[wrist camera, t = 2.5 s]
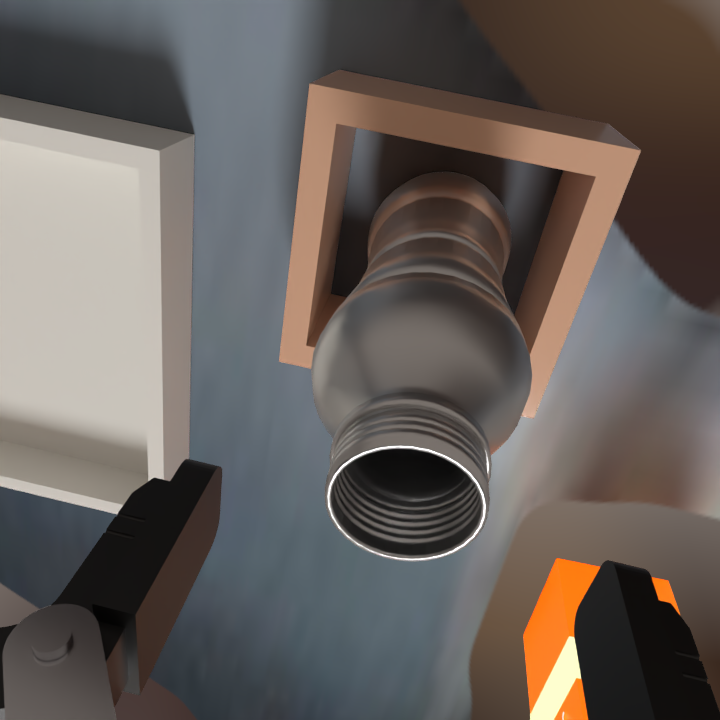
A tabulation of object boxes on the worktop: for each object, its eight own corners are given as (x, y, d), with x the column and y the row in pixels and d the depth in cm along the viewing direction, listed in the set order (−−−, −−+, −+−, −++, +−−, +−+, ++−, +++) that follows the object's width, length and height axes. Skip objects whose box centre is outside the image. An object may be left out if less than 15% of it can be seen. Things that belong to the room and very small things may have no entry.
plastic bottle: (521, 266, 31) (589, 587, 14) (396, 299, 33) (320, 614, 16) (491, 141, 28) (529, 349, 11) (356, 185, 30) (211, 420, 13)
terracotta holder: (338, 69, 27) (309, 83, 22) (607, 123, 27) (640, 150, 22) (307, 308, 34) (279, 361, 29) (523, 355, 33) (533, 418, 28)
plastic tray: (-179, 56, 31) (-259, 62, 27) (194, 134, 30) (159, 150, 26) (-77, 421, 43) (-123, 456, 40) (188, 483, 42) (164, 525, 39)
